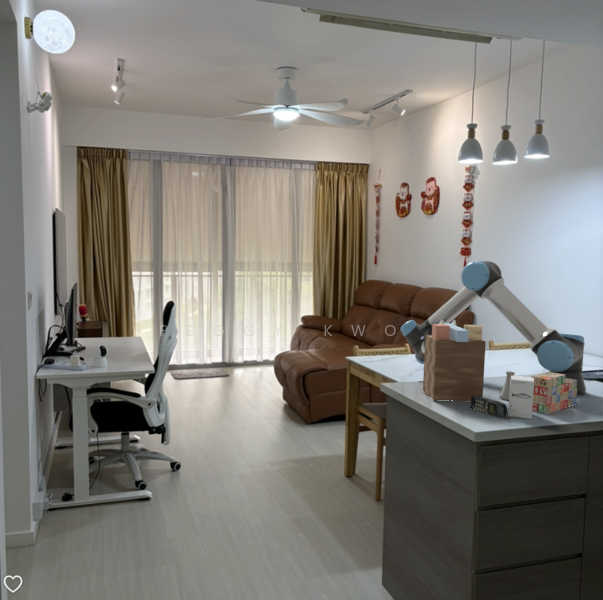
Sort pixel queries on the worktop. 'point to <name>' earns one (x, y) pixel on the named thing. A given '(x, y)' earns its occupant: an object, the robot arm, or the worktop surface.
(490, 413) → the mobile phone
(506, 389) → the flask
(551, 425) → the worktop surface
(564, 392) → the stack of blocks
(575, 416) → the worktop surface
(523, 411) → the supplement box
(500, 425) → the worktop surface
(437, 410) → the worktop surface
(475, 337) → the oak cube
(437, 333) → the brick cube
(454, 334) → the blue bar
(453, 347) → the walnut stand
